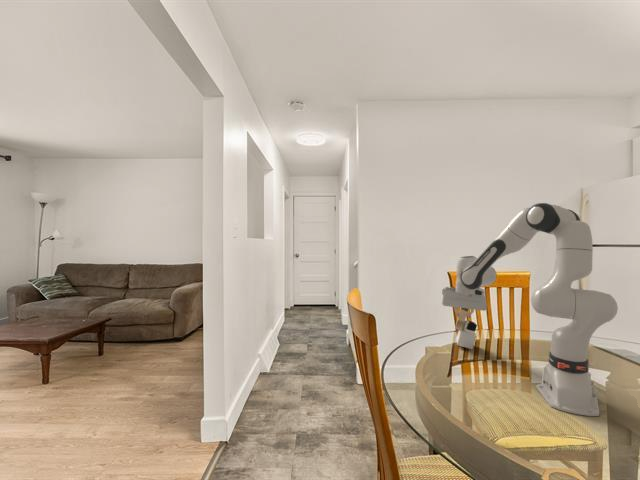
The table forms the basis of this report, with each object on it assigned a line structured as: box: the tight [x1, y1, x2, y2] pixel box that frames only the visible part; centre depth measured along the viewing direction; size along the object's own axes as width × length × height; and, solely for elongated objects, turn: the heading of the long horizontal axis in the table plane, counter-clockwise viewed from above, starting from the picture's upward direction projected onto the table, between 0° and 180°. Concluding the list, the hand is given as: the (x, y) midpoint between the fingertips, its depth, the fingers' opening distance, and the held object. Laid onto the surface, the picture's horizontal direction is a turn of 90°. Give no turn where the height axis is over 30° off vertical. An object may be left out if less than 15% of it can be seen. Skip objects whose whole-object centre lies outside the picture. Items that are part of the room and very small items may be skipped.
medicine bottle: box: [455, 319, 478, 350], centre depth 180 cm, size 7×7×12 cm
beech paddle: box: [454, 308, 469, 331], centre depth 180 cm, size 6×3×16 cm, turn 158°
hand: (463, 316), depth 180 cm, fingers open, 4 cm apart
